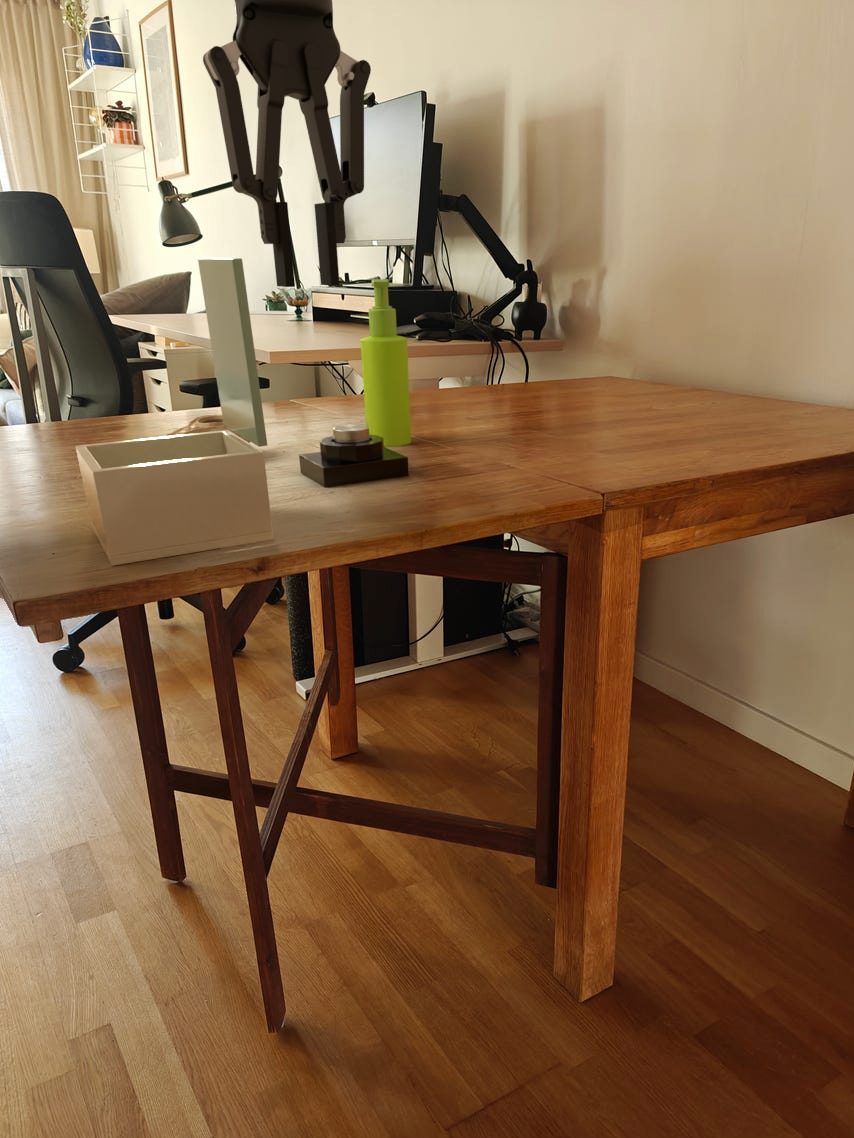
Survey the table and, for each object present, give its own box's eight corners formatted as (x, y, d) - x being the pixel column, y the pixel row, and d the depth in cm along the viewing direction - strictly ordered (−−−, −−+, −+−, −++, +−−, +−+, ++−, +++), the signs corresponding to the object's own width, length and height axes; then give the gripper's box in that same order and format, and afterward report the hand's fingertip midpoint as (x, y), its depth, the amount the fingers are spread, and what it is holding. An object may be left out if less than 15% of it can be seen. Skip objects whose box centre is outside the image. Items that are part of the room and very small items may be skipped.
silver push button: (341, 448, 94) (340, 432, 93) (328, 442, 97) (327, 426, 97) (375, 444, 96) (374, 428, 95) (361, 438, 99) (360, 422, 98)
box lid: (232, 258, 67) (242, 258, 67) (197, 258, 76) (206, 257, 76) (258, 447, 73) (267, 445, 73) (223, 425, 82) (231, 424, 82)
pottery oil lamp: (138, 466, 101) (135, 407, 102) (225, 481, 111) (221, 427, 111) (181, 447, 96) (177, 385, 97) (268, 465, 106) (264, 408, 106)
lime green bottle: (408, 435, 119) (401, 278, 110) (413, 445, 112) (406, 279, 104) (365, 437, 118) (355, 278, 109) (368, 448, 111) (357, 280, 103)
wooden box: (111, 566, 70) (92, 471, 67) (92, 530, 80) (75, 445, 76) (273, 539, 76) (263, 451, 73) (238, 509, 86) (228, 429, 82)
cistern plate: (324, 488, 93) (321, 451, 91) (300, 473, 99) (297, 438, 97) (408, 476, 97) (407, 440, 96) (380, 462, 104) (378, 429, 102)
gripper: (360, -19, 73) (377, 282, 82) (159, -46, 65) (203, 287, 75) (397, -43, 67) (411, 284, 76) (180, -77, 59) (225, 290, 69)
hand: (308, 285), depth 76 cm, fingers open, 3 cm apart
